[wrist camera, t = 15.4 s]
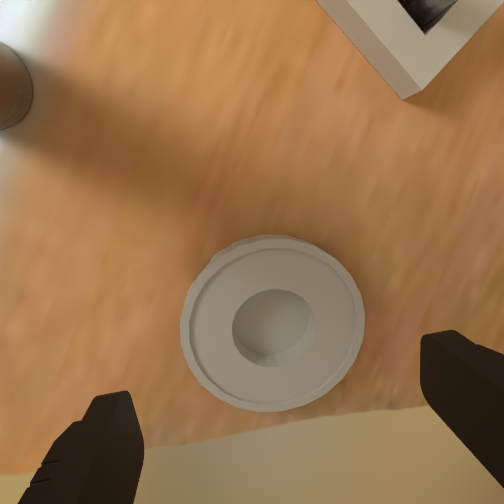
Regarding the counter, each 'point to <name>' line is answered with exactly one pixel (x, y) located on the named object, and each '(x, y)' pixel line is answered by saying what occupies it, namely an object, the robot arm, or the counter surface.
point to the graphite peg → (425, 9)
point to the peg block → (408, 37)
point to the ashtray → (272, 323)
